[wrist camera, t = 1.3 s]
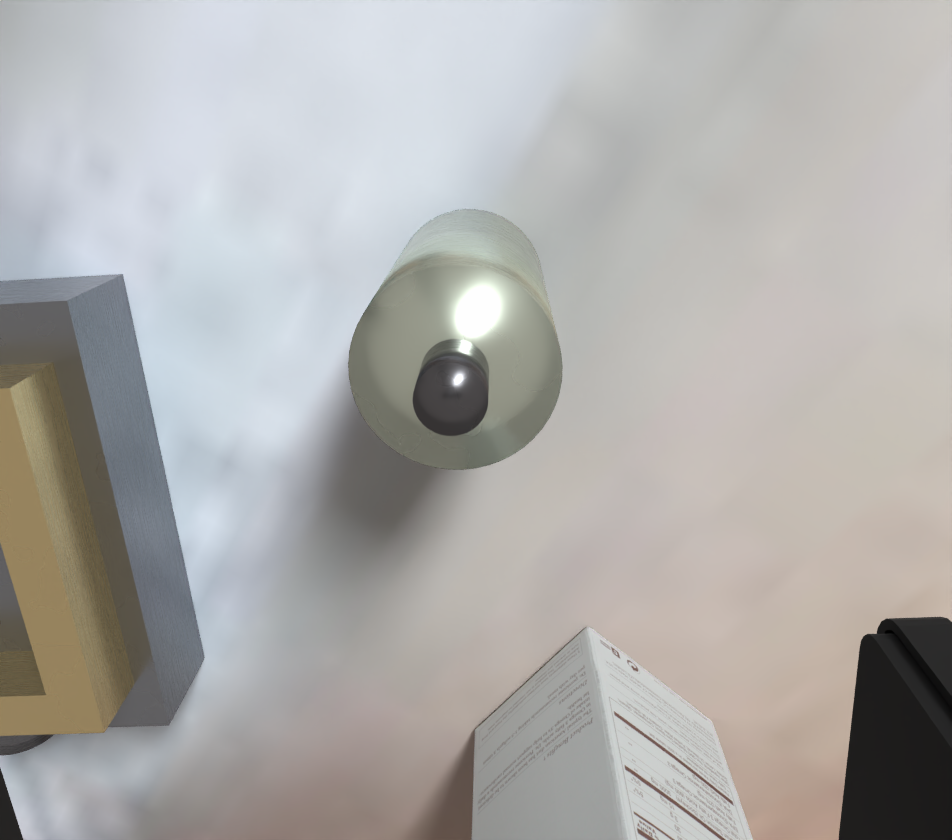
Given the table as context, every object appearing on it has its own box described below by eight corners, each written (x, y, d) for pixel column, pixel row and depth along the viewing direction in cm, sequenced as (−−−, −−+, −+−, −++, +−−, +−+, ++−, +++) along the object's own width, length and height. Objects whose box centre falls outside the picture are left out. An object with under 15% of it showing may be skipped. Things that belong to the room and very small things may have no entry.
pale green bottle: (390, 213, 28) (317, 290, 17) (539, 204, 28) (566, 276, 17) (404, 356, 30) (347, 511, 19) (545, 349, 30) (571, 502, 19)
